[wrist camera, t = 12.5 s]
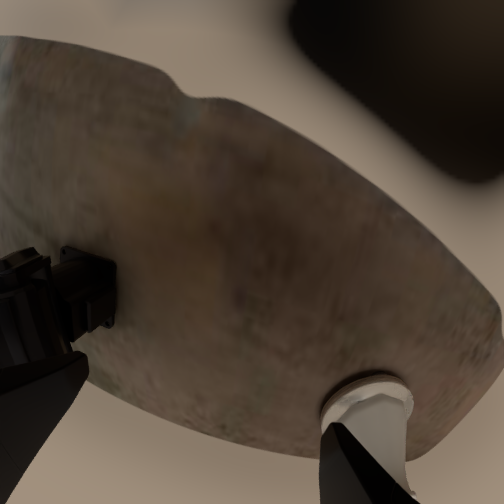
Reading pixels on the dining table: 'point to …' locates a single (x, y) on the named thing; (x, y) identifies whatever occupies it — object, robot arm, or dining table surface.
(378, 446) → the flask
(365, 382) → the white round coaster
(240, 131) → the dining table surface
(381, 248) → the dining table surface
